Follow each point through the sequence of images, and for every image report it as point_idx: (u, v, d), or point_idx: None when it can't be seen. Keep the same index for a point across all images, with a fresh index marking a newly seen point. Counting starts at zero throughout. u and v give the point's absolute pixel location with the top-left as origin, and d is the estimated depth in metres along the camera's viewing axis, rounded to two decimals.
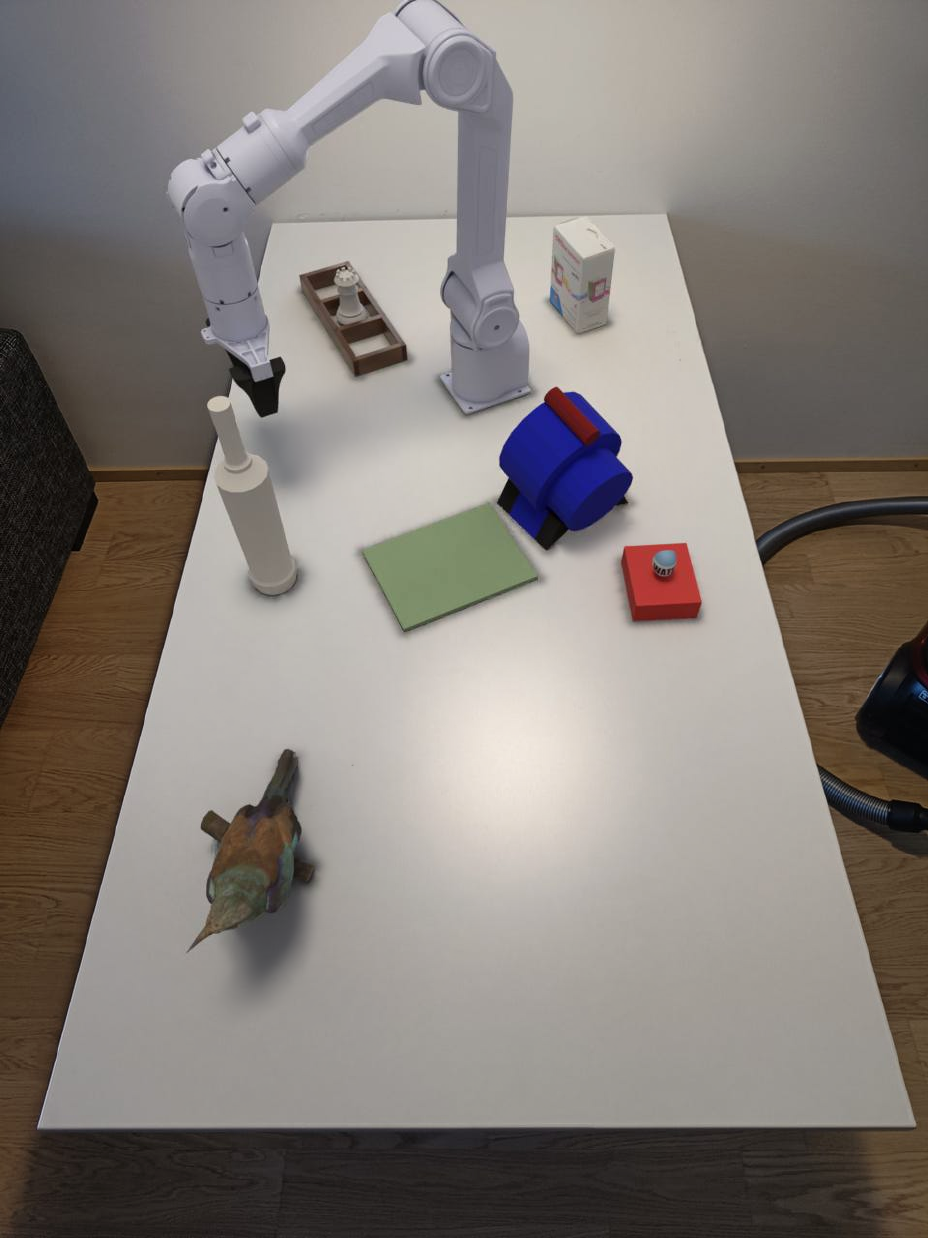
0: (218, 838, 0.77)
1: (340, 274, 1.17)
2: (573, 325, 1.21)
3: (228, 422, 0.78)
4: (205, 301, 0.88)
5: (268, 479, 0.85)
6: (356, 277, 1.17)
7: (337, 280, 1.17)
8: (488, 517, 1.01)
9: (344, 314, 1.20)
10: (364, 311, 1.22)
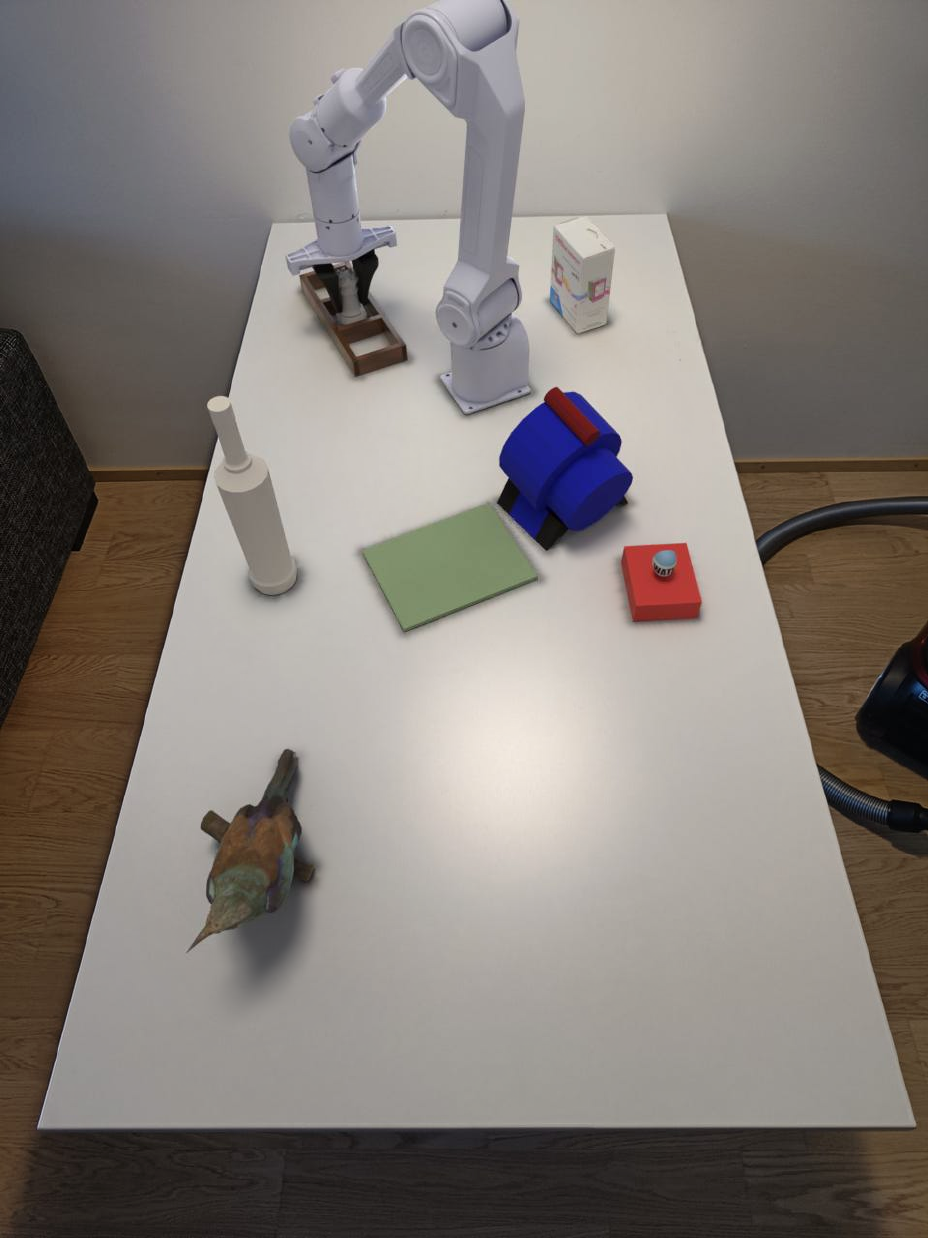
0: (218, 838, 0.77)
1: (340, 274, 1.17)
2: (573, 325, 1.21)
3: (228, 422, 0.78)
4: None
5: (268, 479, 0.85)
6: (356, 277, 1.17)
7: None
8: (488, 517, 1.01)
9: (344, 314, 1.20)
10: (364, 311, 1.22)
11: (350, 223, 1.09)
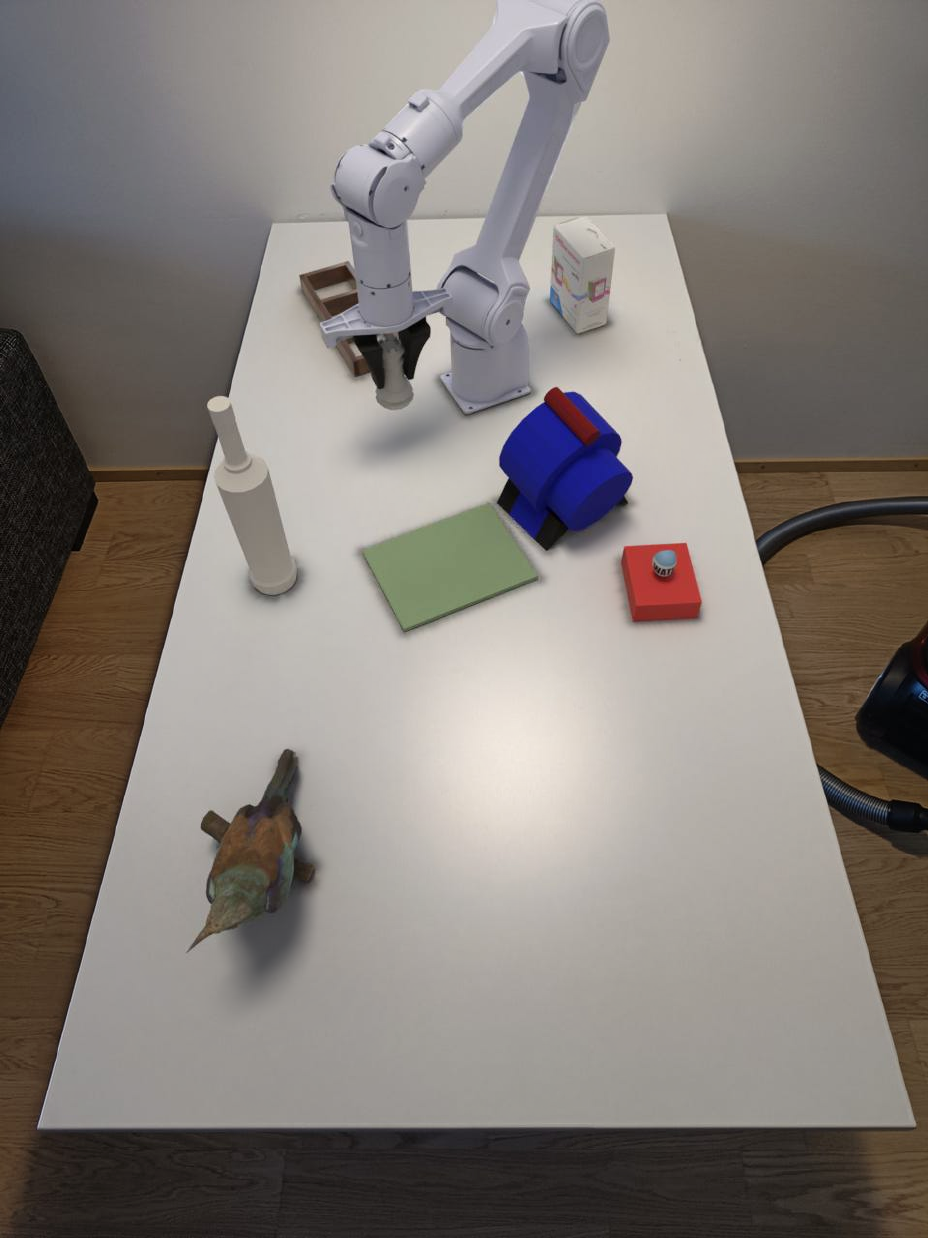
0: (218, 838, 0.77)
1: (383, 344, 0.97)
2: (573, 325, 1.21)
3: (228, 422, 0.78)
4: None
5: (268, 479, 0.85)
6: (402, 348, 0.98)
7: None
8: (488, 517, 1.01)
9: (386, 389, 1.01)
10: (409, 386, 1.02)
11: (400, 288, 0.89)
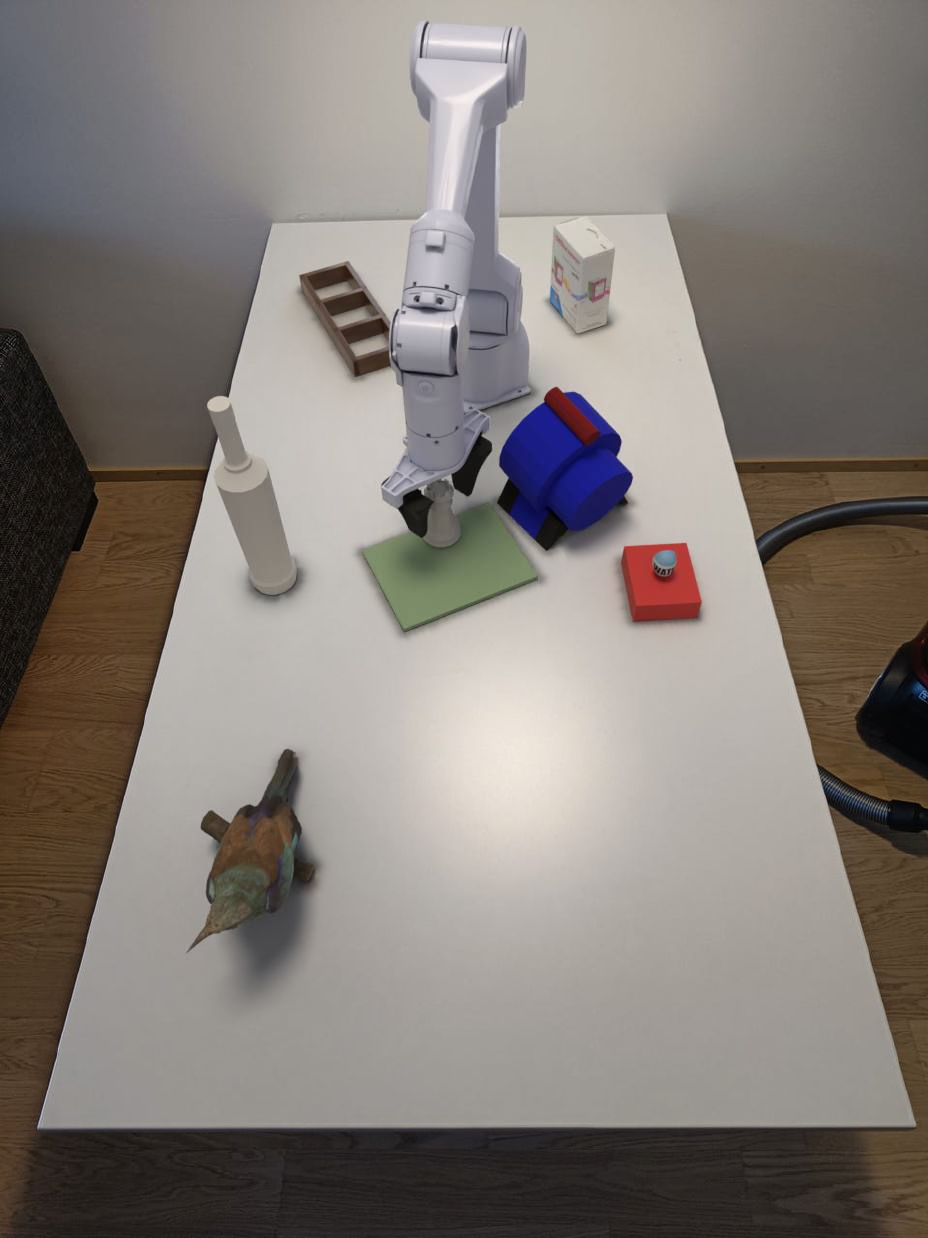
0: (218, 838, 0.77)
1: (432, 489, 0.94)
2: (573, 325, 1.21)
3: (228, 422, 0.78)
4: None
5: (268, 479, 0.85)
6: (451, 486, 0.94)
7: (432, 498, 0.93)
8: (488, 517, 1.01)
9: (439, 530, 0.97)
10: (455, 517, 0.99)
11: (461, 428, 0.85)
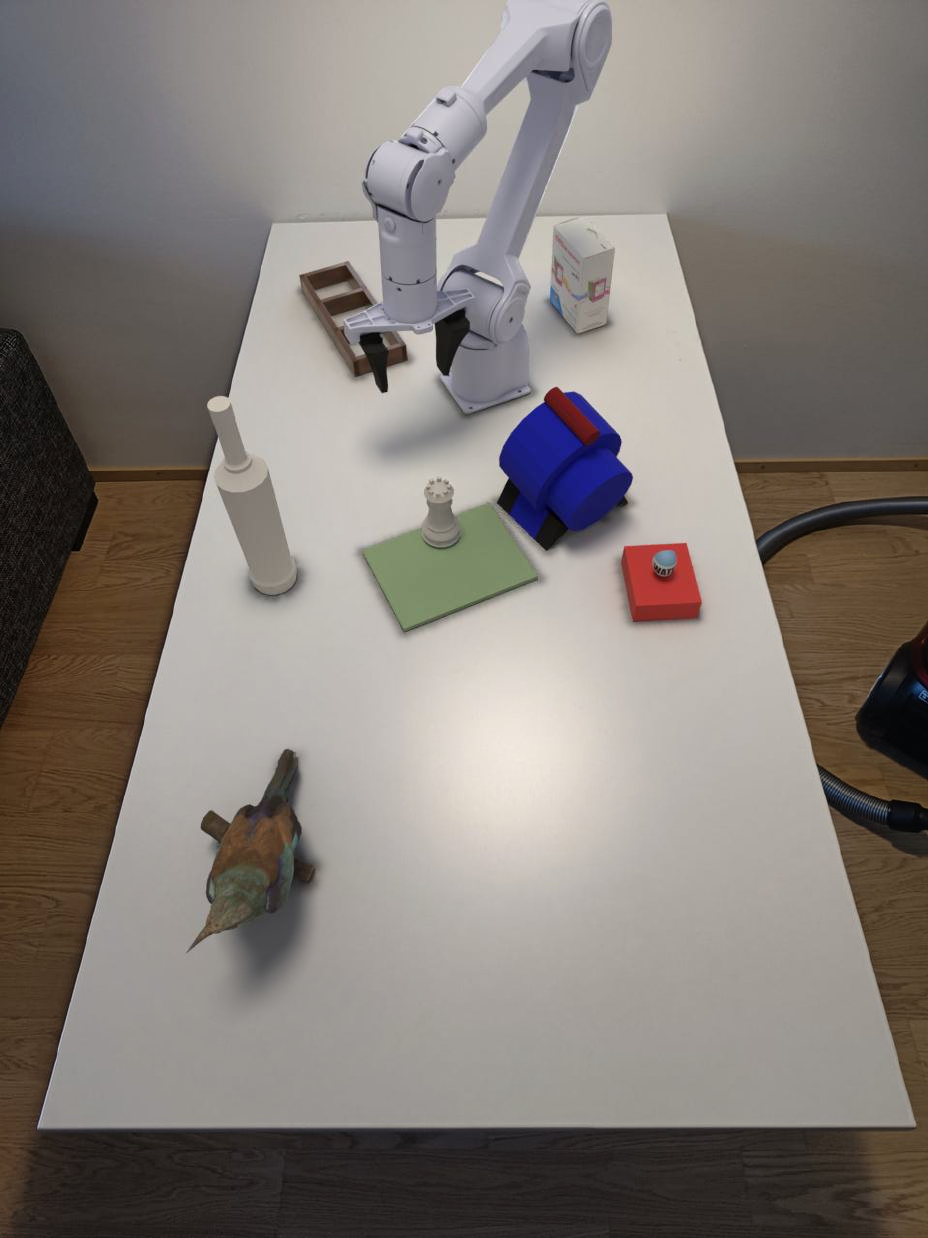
0: (218, 838, 0.77)
1: (432, 489, 0.94)
2: (573, 325, 1.21)
3: (228, 422, 0.78)
4: (425, 284, 0.89)
5: (268, 479, 0.85)
6: (451, 486, 0.94)
7: (432, 498, 0.93)
8: (488, 517, 1.01)
9: (439, 530, 0.97)
10: (455, 517, 0.99)
11: None
